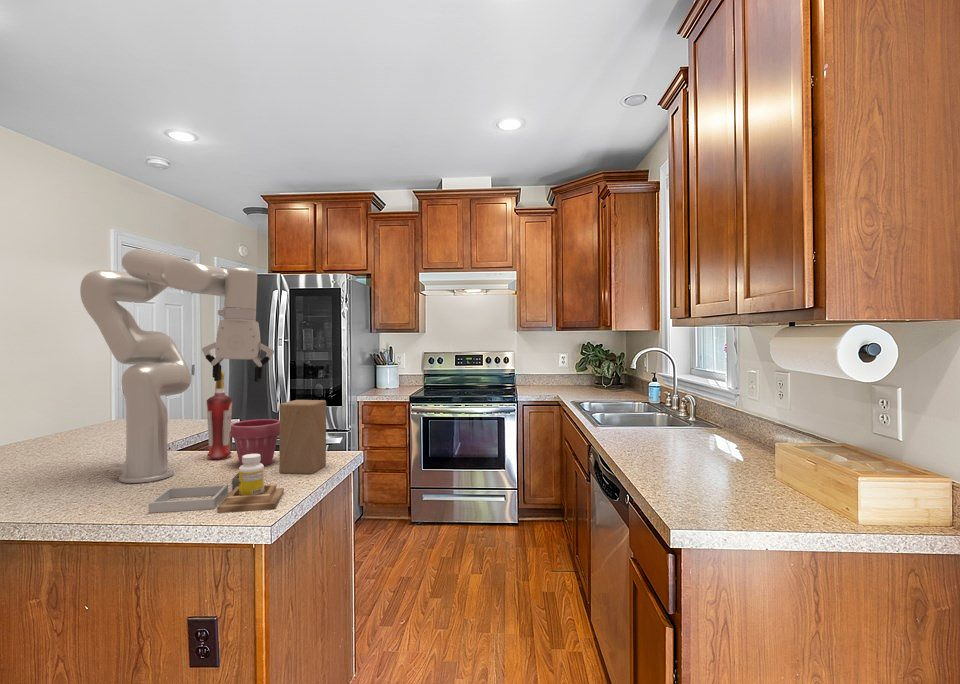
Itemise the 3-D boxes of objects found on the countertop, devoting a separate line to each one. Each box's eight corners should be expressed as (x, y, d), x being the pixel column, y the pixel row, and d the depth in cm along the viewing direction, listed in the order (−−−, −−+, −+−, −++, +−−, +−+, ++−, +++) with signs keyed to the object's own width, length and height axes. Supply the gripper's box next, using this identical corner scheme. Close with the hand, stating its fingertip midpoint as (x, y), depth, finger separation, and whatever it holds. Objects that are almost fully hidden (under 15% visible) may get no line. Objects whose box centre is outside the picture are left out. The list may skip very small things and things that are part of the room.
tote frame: (148, 513, 108) (148, 503, 108) (168, 497, 119) (168, 488, 119) (214, 508, 111) (214, 499, 111) (227, 493, 122) (227, 484, 122)
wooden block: (326, 465, 150) (326, 400, 150) (312, 474, 140) (312, 404, 140) (295, 464, 151) (295, 399, 151) (278, 473, 141) (278, 403, 141)
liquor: (209, 456, 161) (209, 370, 161) (233, 454, 163) (234, 370, 163) (204, 461, 154) (204, 372, 154) (229, 459, 156) (230, 371, 156)
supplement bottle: (244, 493, 119) (244, 453, 119) (267, 493, 119) (267, 452, 119) (234, 501, 113) (235, 458, 113) (259, 500, 114) (259, 457, 114)
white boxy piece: (232, 495, 121) (232, 479, 121) (238, 488, 127) (238, 472, 127) (258, 493, 122) (258, 477, 122) (263, 486, 128) (263, 471, 128)
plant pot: (226, 462, 153) (226, 421, 153) (273, 456, 162) (273, 417, 162) (236, 472, 142) (236, 428, 142) (286, 465, 151) (286, 423, 151)
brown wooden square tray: (217, 512, 109) (217, 500, 109) (231, 495, 121) (231, 484, 121) (275, 508, 112) (275, 496, 112) (283, 492, 123) (283, 482, 123)
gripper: (198, 313, 123) (196, 381, 123) (272, 317, 127) (269, 383, 127) (208, 314, 130) (206, 378, 131) (278, 317, 134) (275, 380, 134)
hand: (237, 381), depth 129 cm, fingers open, 9 cm apart
